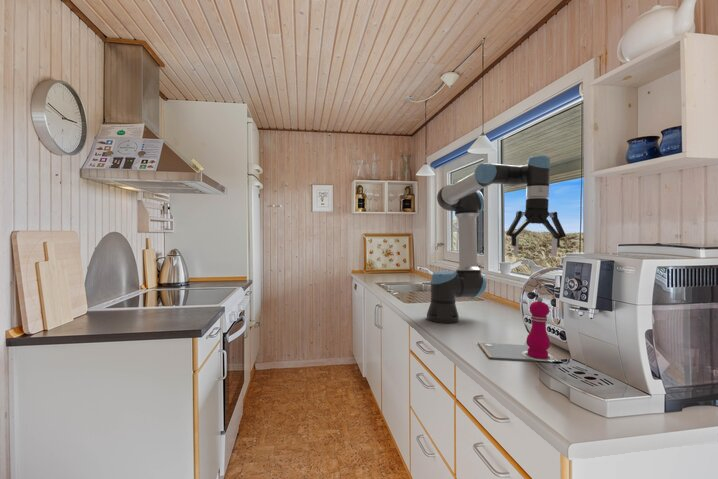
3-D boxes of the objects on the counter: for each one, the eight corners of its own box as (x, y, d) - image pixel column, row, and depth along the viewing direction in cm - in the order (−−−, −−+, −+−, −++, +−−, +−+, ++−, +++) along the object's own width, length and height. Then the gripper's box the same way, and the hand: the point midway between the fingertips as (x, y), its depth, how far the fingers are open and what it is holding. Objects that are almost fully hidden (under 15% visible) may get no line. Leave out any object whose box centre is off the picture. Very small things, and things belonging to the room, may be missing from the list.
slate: (477, 344, 135) (477, 342, 135) (538, 347, 133) (538, 345, 133) (490, 360, 118) (490, 357, 118) (559, 363, 116) (559, 361, 116)
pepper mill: (544, 352, 125) (546, 295, 125) (553, 359, 118) (555, 299, 118) (522, 351, 126) (524, 294, 125) (530, 358, 119) (532, 298, 118)
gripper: (505, 196, 130) (503, 255, 131) (577, 198, 128) (575, 257, 128) (499, 198, 137) (497, 253, 138) (567, 199, 135) (565, 256, 136)
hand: (534, 255), depth 133 cm, fingers open, 13 cm apart
